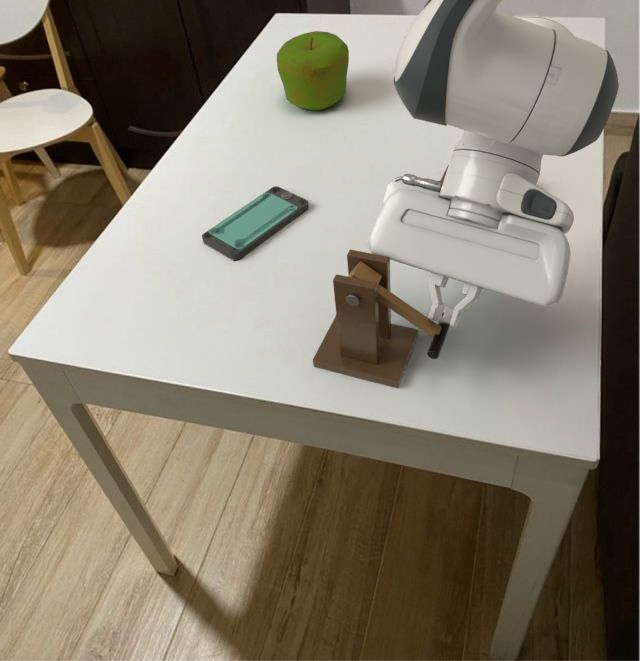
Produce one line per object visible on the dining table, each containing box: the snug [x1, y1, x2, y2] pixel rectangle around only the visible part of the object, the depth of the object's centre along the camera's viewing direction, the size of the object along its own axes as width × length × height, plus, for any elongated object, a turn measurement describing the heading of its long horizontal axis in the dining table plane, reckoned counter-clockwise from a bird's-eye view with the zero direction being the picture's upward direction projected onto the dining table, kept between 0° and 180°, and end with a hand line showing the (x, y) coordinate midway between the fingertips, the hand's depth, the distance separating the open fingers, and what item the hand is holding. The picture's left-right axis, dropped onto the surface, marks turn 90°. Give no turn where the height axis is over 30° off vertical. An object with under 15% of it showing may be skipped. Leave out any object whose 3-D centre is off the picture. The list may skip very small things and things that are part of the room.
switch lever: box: [347, 261, 451, 360], centre depth 68 cm, size 12×6×2 cm
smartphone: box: [201, 185, 310, 261], centre depth 93 cm, size 7×1×15 cm
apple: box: [276, 30, 350, 112], centre depth 113 cm, size 12×12×11 cm
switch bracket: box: [312, 249, 420, 389], centre depth 71 cm, size 10×8×13 cm
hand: (442, 323), depth 68 cm, fingers closed
